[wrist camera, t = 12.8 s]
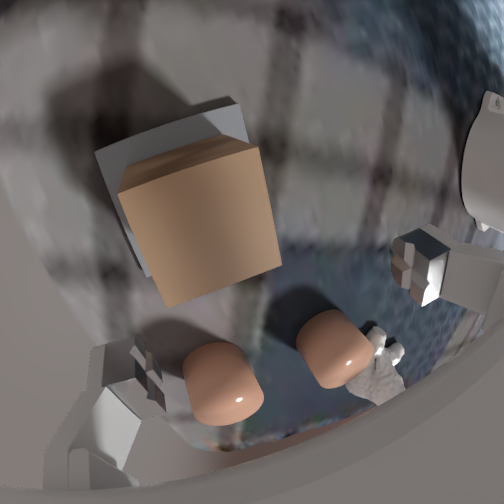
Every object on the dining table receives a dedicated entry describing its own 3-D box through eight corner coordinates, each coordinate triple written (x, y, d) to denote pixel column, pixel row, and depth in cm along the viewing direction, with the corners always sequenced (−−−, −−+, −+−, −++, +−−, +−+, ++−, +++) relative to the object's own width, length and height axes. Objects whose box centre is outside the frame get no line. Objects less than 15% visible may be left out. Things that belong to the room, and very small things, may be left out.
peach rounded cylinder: (235, 332, 25) (255, 374, 21) (251, 370, 29) (269, 409, 24) (171, 356, 24) (181, 401, 20) (195, 391, 28) (207, 432, 23)
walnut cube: (223, 133, 17) (258, 146, 12) (244, 221, 20) (281, 265, 15) (126, 166, 16) (117, 193, 11) (159, 252, 19) (167, 308, 14)
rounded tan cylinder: (346, 300, 28) (376, 331, 24) (346, 338, 32) (371, 369, 27) (291, 325, 27) (317, 362, 23) (298, 362, 31) (320, 396, 26)
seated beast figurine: (400, 342, 37) (454, 399, 27) (357, 385, 38) (403, 446, 28) (374, 322, 32) (440, 393, 22) (323, 374, 33) (375, 450, 23)
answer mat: (236, 103, 17) (240, 103, 16) (265, 228, 22) (269, 232, 21) (95, 151, 15) (93, 152, 15) (146, 273, 20) (146, 278, 20)
